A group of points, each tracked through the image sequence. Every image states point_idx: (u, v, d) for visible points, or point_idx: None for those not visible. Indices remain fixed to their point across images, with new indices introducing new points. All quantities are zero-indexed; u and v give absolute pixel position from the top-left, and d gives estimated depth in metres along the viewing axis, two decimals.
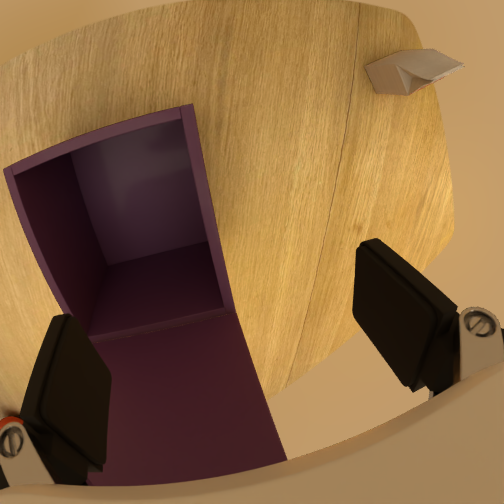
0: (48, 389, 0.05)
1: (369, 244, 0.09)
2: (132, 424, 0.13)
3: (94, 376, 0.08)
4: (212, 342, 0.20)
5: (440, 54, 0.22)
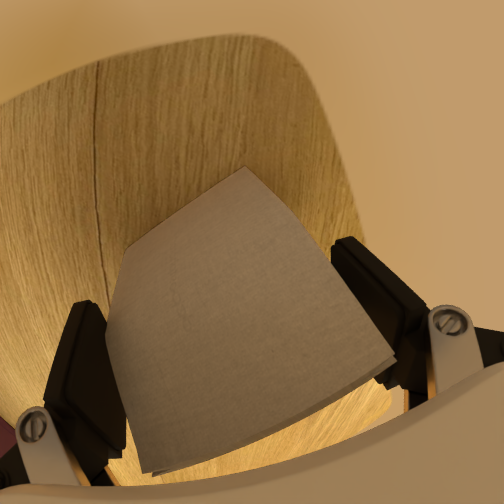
0: (73, 371, 0.06)
1: (343, 242, 0.09)
2: None
3: None
4: None
5: (303, 265, 0.07)
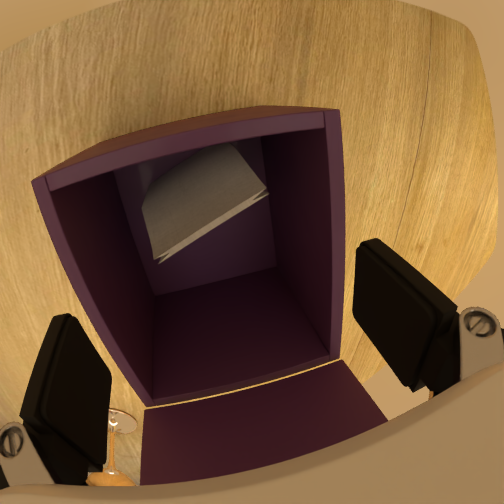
0: (48, 389, 0.05)
1: (369, 244, 0.09)
2: None
3: (94, 376, 0.08)
4: (331, 401, 0.15)
5: (236, 165, 0.17)
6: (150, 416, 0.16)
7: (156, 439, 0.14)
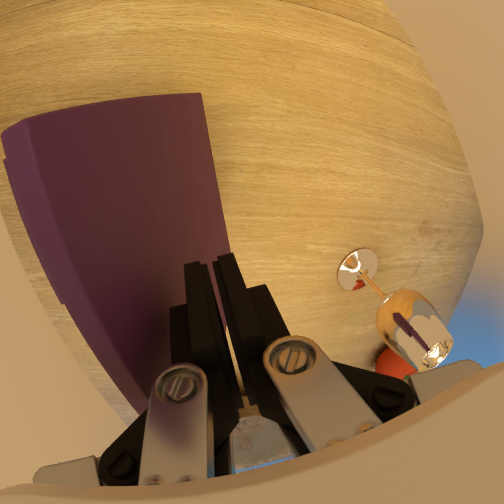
0: (217, 321, 0.07)
1: (219, 259, 0.09)
2: None
3: (222, 323, 0.09)
4: None
5: None
6: None
7: None
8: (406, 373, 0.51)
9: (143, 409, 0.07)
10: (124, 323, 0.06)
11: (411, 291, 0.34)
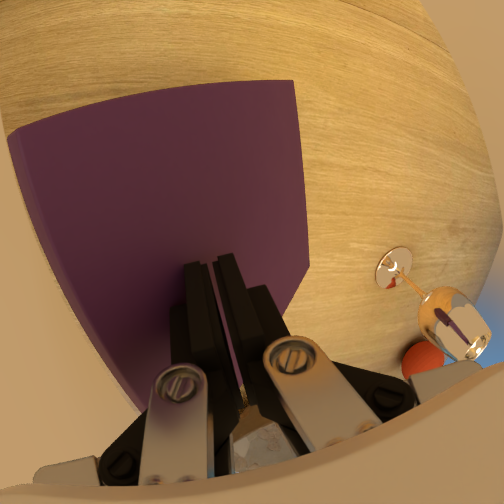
0: (217, 321, 0.07)
1: (219, 259, 0.09)
2: None
3: (222, 323, 0.09)
4: None
5: None
6: None
7: None
8: None
9: (125, 387, 0.08)
10: (111, 310, 0.07)
11: (451, 287, 0.32)
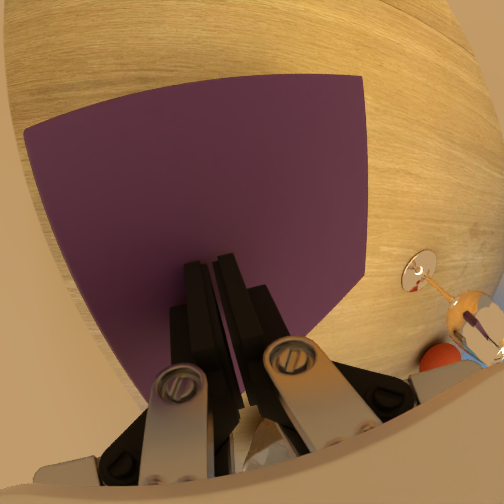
0: (216, 321, 0.07)
1: (219, 259, 0.09)
2: None
3: (222, 323, 0.09)
4: None
5: None
6: None
7: None
8: None
9: (118, 360, 0.09)
10: (107, 291, 0.08)
11: (479, 291, 0.30)
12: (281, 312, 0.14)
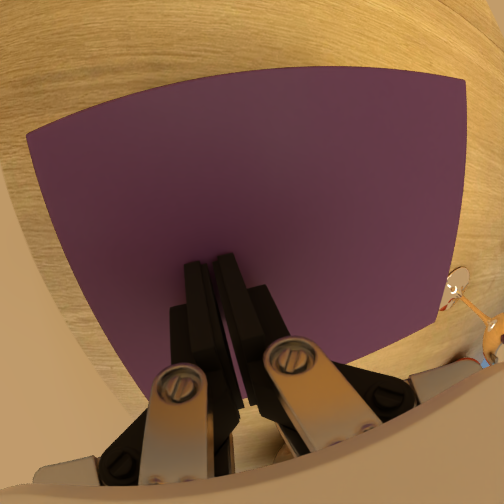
0: (216, 321, 0.07)
1: (219, 259, 0.09)
2: None
3: None
4: None
5: None
6: None
7: None
8: None
9: None
10: (93, 273, 0.09)
11: None
12: None
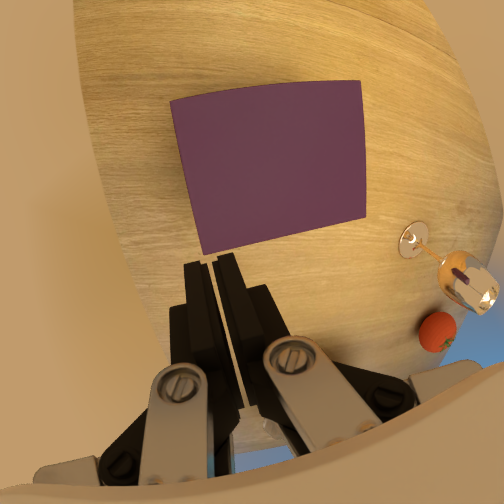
0: (217, 322, 0.07)
1: (219, 259, 0.09)
2: None
3: (222, 323, 0.09)
4: None
5: None
6: None
7: None
8: (447, 336, 0.55)
9: (188, 191, 0.24)
10: (190, 158, 0.23)
11: (463, 251, 0.38)
12: (279, 204, 0.26)
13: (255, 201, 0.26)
